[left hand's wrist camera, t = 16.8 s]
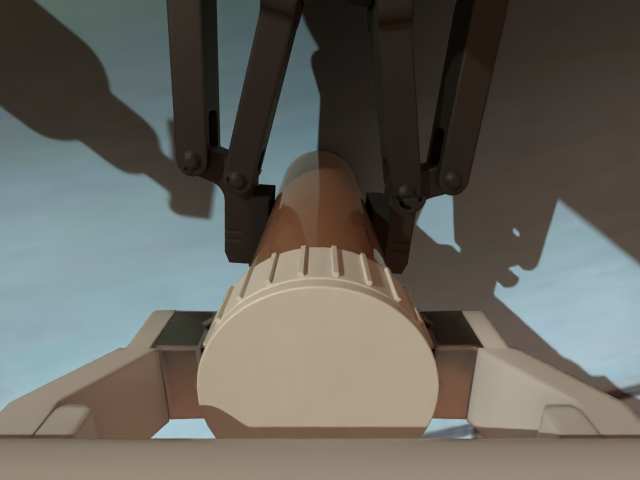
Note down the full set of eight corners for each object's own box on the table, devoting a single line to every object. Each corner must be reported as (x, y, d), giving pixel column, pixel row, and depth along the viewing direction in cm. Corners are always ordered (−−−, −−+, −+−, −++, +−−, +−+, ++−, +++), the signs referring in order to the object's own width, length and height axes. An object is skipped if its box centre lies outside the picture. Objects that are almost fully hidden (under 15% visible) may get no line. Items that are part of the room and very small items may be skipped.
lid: (388, 212, 9) (405, 247, 7) (442, 389, 11) (468, 454, 9) (181, 281, 10) (148, 329, 8) (262, 438, 11) (251, 509, 9)
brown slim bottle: (370, 196, 25) (456, 393, 9) (310, 235, 26) (295, 477, 10) (329, 135, 24) (346, 240, 8) (268, 178, 25) (174, 350, 9)
